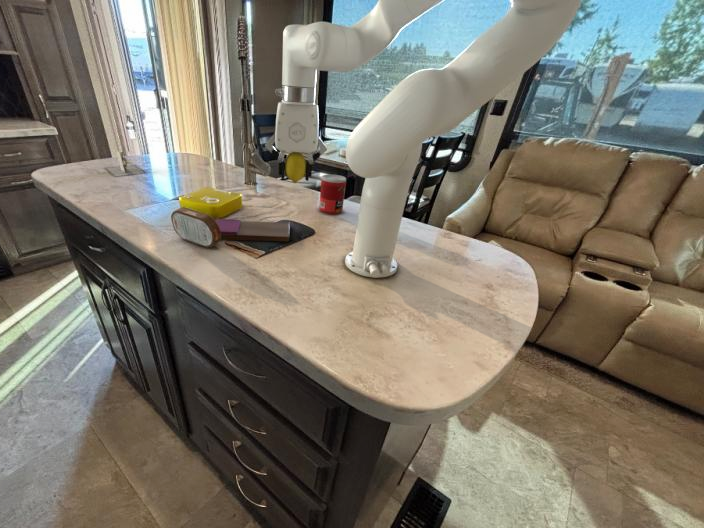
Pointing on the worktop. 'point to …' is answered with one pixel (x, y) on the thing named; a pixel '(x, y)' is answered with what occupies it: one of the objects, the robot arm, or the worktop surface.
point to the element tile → (212, 202)
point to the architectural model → (124, 167)
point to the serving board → (260, 232)
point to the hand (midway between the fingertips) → (294, 177)
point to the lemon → (295, 166)
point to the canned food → (332, 194)
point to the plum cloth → (228, 225)
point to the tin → (196, 227)
